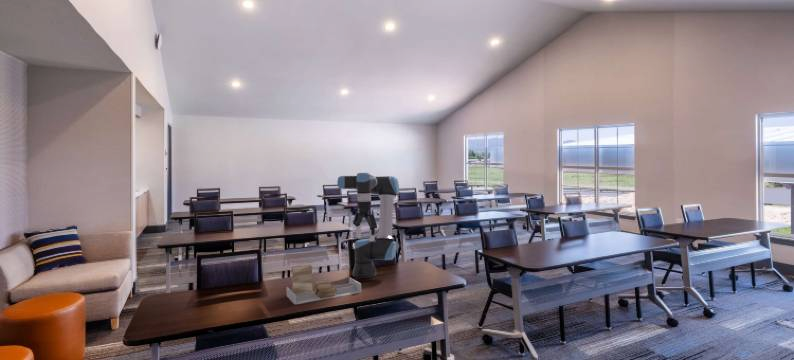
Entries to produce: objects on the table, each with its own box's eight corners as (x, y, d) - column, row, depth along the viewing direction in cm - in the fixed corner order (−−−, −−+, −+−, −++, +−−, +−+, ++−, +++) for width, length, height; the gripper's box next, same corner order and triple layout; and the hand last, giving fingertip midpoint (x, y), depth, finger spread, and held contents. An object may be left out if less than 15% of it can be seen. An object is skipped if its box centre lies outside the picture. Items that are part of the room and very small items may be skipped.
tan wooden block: (292, 298, 229) (291, 267, 228) (310, 295, 233) (309, 264, 233) (294, 300, 226) (293, 268, 225) (312, 297, 230) (311, 265, 230)
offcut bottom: (313, 292, 239) (313, 289, 239) (327, 290, 242) (327, 286, 242) (320, 298, 228) (320, 294, 228) (335, 295, 232) (335, 292, 232)
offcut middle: (315, 289, 237) (314, 286, 237) (327, 287, 241) (327, 283, 241) (322, 294, 228) (322, 290, 228) (335, 292, 232) (335, 288, 232)
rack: (286, 298, 234) (286, 287, 233) (350, 287, 251) (350, 277, 251) (294, 306, 220) (294, 295, 219) (361, 294, 237) (361, 283, 237)
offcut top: (315, 285, 238) (315, 281, 238) (327, 283, 241) (327, 280, 241) (319, 289, 230) (319, 286, 230) (331, 288, 232) (330, 284, 232)
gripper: (346, 200, 243) (347, 237, 244) (371, 202, 224) (372, 243, 225) (357, 199, 248) (358, 235, 249) (383, 201, 228) (384, 241, 229)
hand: (365, 239), depth 237 cm, fingers open, 13 cm apart
